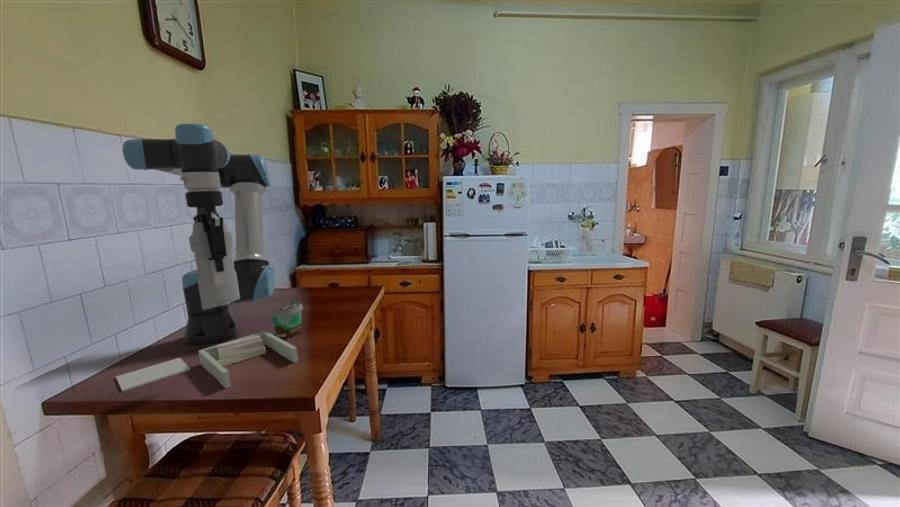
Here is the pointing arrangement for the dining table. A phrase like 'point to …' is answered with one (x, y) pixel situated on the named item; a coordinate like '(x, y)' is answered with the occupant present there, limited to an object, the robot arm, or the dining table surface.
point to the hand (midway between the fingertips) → (217, 282)
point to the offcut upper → (239, 347)
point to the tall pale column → (209, 291)
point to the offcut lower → (239, 357)
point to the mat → (151, 374)
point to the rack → (267, 338)
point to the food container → (288, 320)
